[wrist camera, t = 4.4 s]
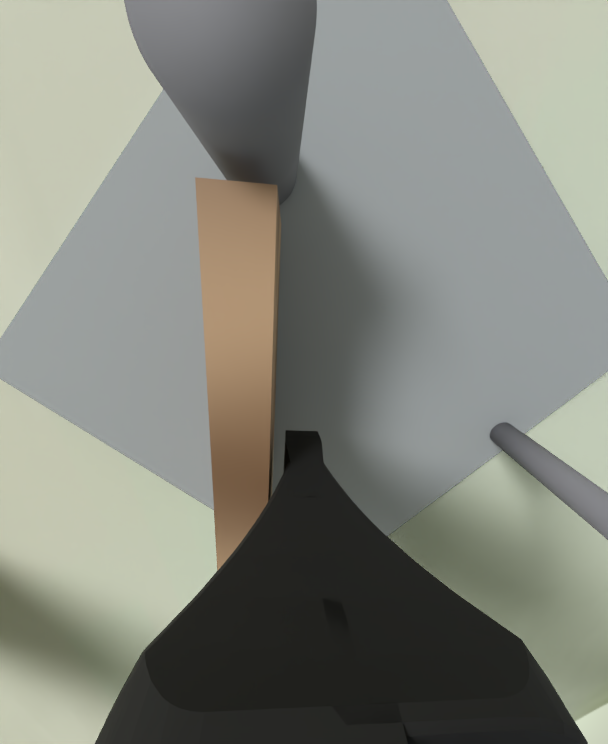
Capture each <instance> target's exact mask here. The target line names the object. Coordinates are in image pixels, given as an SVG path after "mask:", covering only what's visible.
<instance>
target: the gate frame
mask: <svg viewBox="0 0 608 744" xmlns="http://www.w3.org/2000/svg"><path fill="white" fill-rule="evenodd" d="M124 3H125V7H126V12H127V16H128V20H129V24H130V27H131V30H132V33H133V36H134V39H135V41H136V43H137V46H138V48H139V50H140V52H141V54H142V56H143V58H144V60H145V62H146V63H147V65H148V67H149V68H150V70H151V71H152V73H153V74H154V76H155V77H156V79H157V80H158V82H159V83H160V85H161V86H162V87H163V91H162V92H161V94H160V95H159V97H158V98H157V100H156V101H155V103H154V104H153V106H152V107H151V109H150V110H149V112H148V114H147V115H146V117H145V118H144V120H143V121H142V123H141V124H140V126H139V127H138V129H137V130H136V132H135V133H134V135H133V136H132V138H131V140H130V141H129V143H128V144H127V146H126V147H125V149H124V150H123V152H122V153H121V155H120V156H119V158H118V159H117V161H116V162H115V164H114V166H113V167H112V169H111V170H110V172H109V173H108V175H107V176H106V178H105V179H104V181H103V182H102V184H101V185H100V187H99V188H98V190H97V192H96V193H95V195H94V196H93V198H92V199H91V201H90V202H89V204H88V205H87V207H86V208H85V210H84V211H83V213H82V215H81V216H80V218H79V219H78V221H77V222H76V224H75V225H74V227H73V228H72V230H71V231H70V233H69V234H68V236H67V237H66V239H65V241H64V242H63V244H62V245H61V247H60V248H59V250H58V251H57V253H56V254H55V256H54V257H53V259H52V260H51V262H50V263H49V265H48V267H47V268H46V270H45V271H44V273H43V274H42V276H41V277H40V279H39V280H38V282H37V283H36V285H35V286H34V288H33V289H32V291H31V293H30V294H29V296H28V297H27V299H26V300H25V302H24V303H23V305H22V306H21V308H20V309H19V311H18V312H17V314H16V315H15V317H14V319H13V320H12V322H11V323H10V325H9V326H8V328H7V329H6V331H5V332H4V334H3V335H2V337H1V338H0V379H1V380H3V381H4V382H6V383H8V384H9V385H11V386H13V387H14V388H16V389H17V390H19V391H21V392H22V393H24V394H26V395H27V396H29V397H30V398H32V399H34V400H35V401H37V402H39V403H40V404H42V405H43V406H45V407H47V408H48V409H50V410H52V411H53V412H55V413H56V414H58V415H60V416H61V417H63V418H65V419H66V420H68V421H70V422H71V423H73V424H74V425H76V426H78V427H79V428H81V429H83V430H84V431H86V432H87V433H89V434H91V435H92V436H94V437H96V438H97V439H99V440H100V441H102V442H104V443H105V444H107V445H109V446H110V447H112V448H113V449H115V450H117V451H118V452H120V453H122V454H123V455H125V456H126V457H128V458H130V459H131V460H133V461H135V462H136V463H138V464H139V465H141V466H143V467H144V468H146V469H148V470H149V471H151V472H152V473H154V474H156V475H157V476H159V477H161V478H162V479H164V480H165V481H167V482H169V483H170V484H172V485H174V486H175V487H177V488H178V489H180V490H182V491H183V492H185V493H187V494H188V495H190V496H192V497H193V498H195V499H196V500H198V501H200V502H201V503H203V504H205V505H206V506H208V507H209V508H211V509H213V510H214V500H213V482H212V465H211V447H210V430H209V412H208V395H207V377H206V359H205V342H204V324H203V307H202V289H201V272H200V254H199V237H198V219H197V201H196V184H195V177H197V178H208V179H219V180H230V181H241V182H252V183H263V184H273V185H277V187H278V197H279V207H280V217H281V246H280V275H279V305H278V334H277V364H276V393H275V423H274V452H273V482H272V494H273V493H274V491H275V489H276V487H277V485H278V483H279V481H280V479H281V477H282V475H283V472H284V452H285V431H286V430H294V431H318V433H319V436H320V438H321V441H322V450H323V461H324V464H325V465H326V467H327V468H328V470H329V471H330V473H331V474H332V475H333V477H334V478H335V479H336V481H337V482H338V483H339V485H340V486H341V487H342V488H343V490H344V491H345V492H346V494H347V495H348V496H349V497H350V498H351V500H352V501H353V502H354V503H355V504H356V505H357V506H358V508H359V509H360V510H361V511H362V512H363V513H364V514H365V515H366V516H367V517H368V518H369V519H370V520H371V521H372V522H373V523H374V524H375V525H376V526H377V527H378V528H379V529H380V530H381V531H382V532H383V533H384V534H385V535H386V536H388V535H390V534H391V533H392V532H394V531H395V530H396V529H398V528H399V527H400V526H402V525H403V524H404V523H406V522H407V521H408V520H410V519H411V518H412V517H414V516H415V515H416V514H418V513H419V512H420V511H422V510H423V509H424V508H426V507H427V506H428V505H430V504H431V503H432V502H434V501H435V500H436V499H438V498H439V497H440V496H442V495H443V494H444V493H446V492H447V491H448V490H450V489H451V488H452V487H454V486H455V485H456V484H458V483H459V482H460V481H462V480H463V479H464V478H466V477H467V476H468V475H470V474H471V473H472V472H474V471H475V470H476V469H478V468H479V467H480V466H482V465H483V464H484V463H486V462H487V461H488V460H490V459H491V458H492V457H494V456H495V455H496V454H498V453H499V452H500V451H502V450H503V451H504V452H506V453H507V454H508V455H509V456H510V457H511V458H513V459H514V460H515V461H516V462H517V463H518V464H520V465H521V466H522V467H523V468H524V469H525V470H527V471H528V472H529V473H530V474H531V475H533V476H534V477H535V478H536V479H537V480H538V481H540V482H541V483H542V484H543V485H544V486H545V487H547V488H548V489H549V490H550V491H551V492H552V493H554V494H555V495H556V496H557V497H558V498H559V499H561V500H562V501H563V502H564V503H565V504H566V505H568V506H569V507H570V508H571V509H572V510H574V511H575V512H576V513H577V514H578V515H579V516H581V517H582V518H583V519H584V520H585V521H586V522H588V523H589V524H590V525H591V526H592V527H593V528H595V529H596V530H597V531H598V532H599V533H600V534H602V535H603V536H604V537H605V538H606V539H607V540H608V493H607V492H605V491H604V490H603V489H601V488H600V487H598V486H597V485H596V484H594V483H593V482H591V481H590V480H589V479H587V478H586V477H584V476H583V475H581V474H580V473H579V472H577V471H576V470H574V469H573V468H572V467H570V466H569V465H567V464H566V463H565V462H563V461H562V460H560V459H559V458H557V457H556V456H555V455H553V454H552V453H550V452H549V451H548V450H546V449H545V448H543V447H542V446H541V445H539V444H538V443H536V442H535V441H534V440H532V439H531V438H529V437H528V436H526V435H525V434H524V433H526V432H527V431H528V430H530V429H531V428H532V427H534V426H535V425H536V424H538V423H539V422H540V421H542V420H543V419H544V418H546V417H547V416H548V415H550V414H551V413H552V412H554V411H555V410H556V409H558V408H559V407H561V406H562V405H563V404H565V403H566V402H567V401H569V400H570V399H571V398H573V397H574V396H575V395H577V394H578V393H579V392H581V391H582V390H583V389H585V388H586V387H587V386H589V385H590V384H591V383H593V382H594V381H595V380H597V379H598V378H599V377H601V376H602V375H603V374H605V373H606V372H607V371H608V280H607V279H606V277H605V275H604V273H603V272H602V270H601V268H600V266H599V265H598V263H597V261H596V260H595V258H594V256H593V254H592V253H591V251H590V249H589V247H588V246H587V244H586V242H585V240H584V239H583V237H582V235H581V233H580V232H579V230H578V228H577V226H576V225H575V223H574V221H573V219H572V218H571V216H570V214H569V212H568V211H567V209H566V207H565V205H564V204H563V202H562V200H561V198H560V197H559V195H558V193H557V191H556V190H555V188H554V186H553V184H552V183H551V181H550V179H549V177H548V176H547V174H546V172H545V170H544V169H543V167H542V165H541V163H540V162H539V160H538V158H537V156H536V155H535V153H534V151H533V150H532V148H531V146H530V144H529V143H528V141H527V139H526V137H525V136H524V134H523V132H522V130H521V129H520V127H519V125H518V123H517V122H516V120H515V118H514V116H513V115H512V113H511V111H510V109H509V108H508V106H507V104H506V102H505V101H504V99H503V97H502V95H501V94H500V92H499V90H498V88H497V87H496V85H495V83H494V81H493V80H492V78H491V76H490V74H489V73H488V71H487V69H486V67H485V66H484V64H483V62H482V60H481V59H480V57H479V55H478V53H477V52H476V50H475V48H474V47H473V45H472V43H471V41H470V40H469V38H468V36H467V34H466V33H465V31H464V29H463V27H462V26H461V24H460V22H459V20H458V19H457V17H456V15H455V13H454V12H453V10H452V8H451V6H450V5H449V3H448V1H447V0H124Z"/></svg>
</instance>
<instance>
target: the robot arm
mask: <svg viewBox="0 0 608 744" xmlns="http://www.w3.org/2000/svg"><path fill="white" fill-rule="evenodd" d="M95 744H588V743H587V741H586V739H585V737H584V736H583V734H582V733H581V731H580V730H579V728H578V726H577V725H576V723H575V721H574V720H573V718H572V717H571V715H570V714H569V712H568V710H567V709H566V707H565V705H564V704H563V702H562V700H561V699H560V697H559V695H558V694H557V692H556V690H555V689H554V687H553V686H552V684H551V682H550V681H549V679H548V677H547V676H546V674H545V673H544V672H543V670H542V669H541V667H540V666H539V664H538V663H537V662H536V660H535V659H534V657H533V656H532V654H531V653H530V651H529V650H528V649H527V647H526V646H525V644H524V643H523V641H522V640H521V639H520V638H518V637H517V636H516V635H514V634H513V633H511V632H510V631H508V630H507V629H506V628H504V627H503V626H501V625H500V624H498V623H497V622H496V621H494V620H493V619H491V618H490V617H489V616H487V615H486V614H484V613H483V612H481V611H480V610H479V609H477V608H476V607H474V606H473V605H471V604H470V603H469V602H467V601H466V600H464V599H463V598H461V597H460V596H459V595H457V594H456V593H455V592H453V591H452V590H451V589H449V588H448V587H447V586H445V585H444V584H443V583H442V582H440V581H439V580H438V579H437V578H435V577H434V576H433V575H431V574H430V573H429V572H428V571H426V570H425V569H424V568H423V567H421V566H420V565H419V564H418V563H417V562H415V561H414V560H413V559H412V558H411V557H409V556H408V555H407V554H406V553H405V552H404V551H403V550H402V549H400V548H399V547H398V546H397V545H396V544H395V543H394V542H393V541H391V540H390V539H389V538H388V537H387V536H386V535H385V534H384V533H383V532H382V531H381V530H380V529H379V528H378V527H377V526H376V525H375V524H374V523H373V522H372V521H371V520H370V519H369V518H368V517H367V516H366V515H365V514H364V513H363V512H362V511H361V510H360V509H359V508H358V506H357V505H356V504H355V503H354V502H353V501H352V500H351V498H350V497H349V496H348V495H347V494H346V492H345V491H344V490H343V488H342V487H341V486H340V485H339V483H338V482H337V481H336V479H335V478H334V477H333V475H332V474H331V473H330V471H329V470H328V468H327V467H326V465H325V464H324V461H323V450H322V441H321V438H320V436H319V433H318V431H294V430H286V431H285V452H284V472H283V475H282V477H281V479H280V481H279V483H278V485H277V487H276V489H275V491H274V493H273V494H272V496H271V498H270V500H269V501H268V503H267V505H266V506H265V508H264V510H263V511H262V513H261V514H260V516H259V517H258V519H257V520H256V522H255V523H254V525H253V526H252V527H251V529H250V530H249V532H248V533H247V534H246V536H245V537H244V539H243V540H242V541H241V543H240V544H239V545H238V547H237V548H236V549H235V550H234V552H233V553H232V554H231V555H230V557H229V558H228V559H227V560H226V561H225V563H224V564H223V565H222V566H221V567H220V569H219V570H218V571H217V572H216V573H215V574H214V576H213V577H212V578H211V579H210V580H209V582H208V583H207V584H206V585H205V586H204V588H203V589H202V590H201V591H200V592H199V593H198V594H197V595H196V596H195V598H194V599H193V600H192V601H191V602H190V603H189V604H188V605H187V606H186V607H185V608H184V609H183V610H182V611H181V612H180V613H179V614H178V615H177V616H176V617H175V618H174V619H173V620H172V622H171V623H170V624H169V625H168V626H167V627H166V628H165V629H164V630H163V631H162V632H161V633H160V634H159V635H158V636H157V637H156V638H155V639H154V640H153V641H152V642H151V643H150V644H149V645H148V646H147V647H146V649H145V650H144V651H143V652H142V654H141V656H140V658H139V659H138V661H137V663H136V664H135V666H134V668H133V670H132V672H131V673H130V675H129V677H128V679H127V681H126V682H125V684H124V686H123V688H122V690H121V692H120V694H119V696H118V698H117V699H116V701H115V703H114V705H113V707H112V709H111V711H110V713H109V715H108V717H107V719H106V722H105V724H104V726H103V728H102V730H101V732H100V734H99V736H98V738H97V740H96V742H95Z"/></svg>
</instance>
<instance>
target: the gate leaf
mask: <svg viewBox="0 0 608 744" xmlns="http://www.w3.org/2000/svg"><path fill="white" fill-rule="evenodd" d="M195 184H196V201H197V219H198V237H199V254H200V272H201V289H202V307H203V324H204V342H205V359H206V377H207V395H208V412H209V430H210V447H211V465H212V482H213V500H214V518H215V535H216V553H217V570H219V569H220V567H221V566H222V565H223V564H224V563H225V561H226V560H227V559H228V558H229V557H230V555H231V554H232V553H233V552H234V550H235V549H236V548H237V547H238V545H239V544H240V543H241V541H242V540H243V539H244V537H245V536H246V534H247V533H248V532H249V530H250V529H251V527H252V526H253V525H254V523H255V522H256V520H257V519H258V517H259V516H260V514H261V513H262V511H263V510H264V508H265V506H266V505H267V503H268V501H269V500H270V498H271V496H272V482H273V452H274V423H275V393H276V364H277V334H278V305H279V275H280V246H281V217H280V207H279V197H278V187H277V185H273V184H263V183H252V182H241V181H230V180H219V179H208V178H197V177H195Z"/></svg>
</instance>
